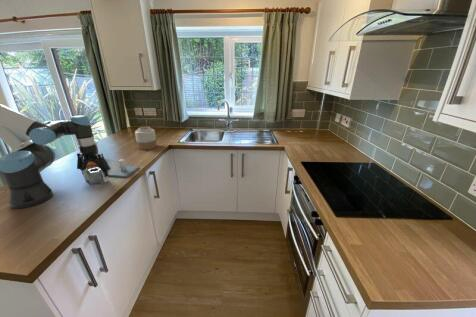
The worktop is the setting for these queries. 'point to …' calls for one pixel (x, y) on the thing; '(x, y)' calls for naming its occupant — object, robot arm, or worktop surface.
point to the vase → (145, 138)
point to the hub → (95, 175)
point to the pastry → (91, 165)
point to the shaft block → (123, 170)
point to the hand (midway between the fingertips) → (97, 180)
